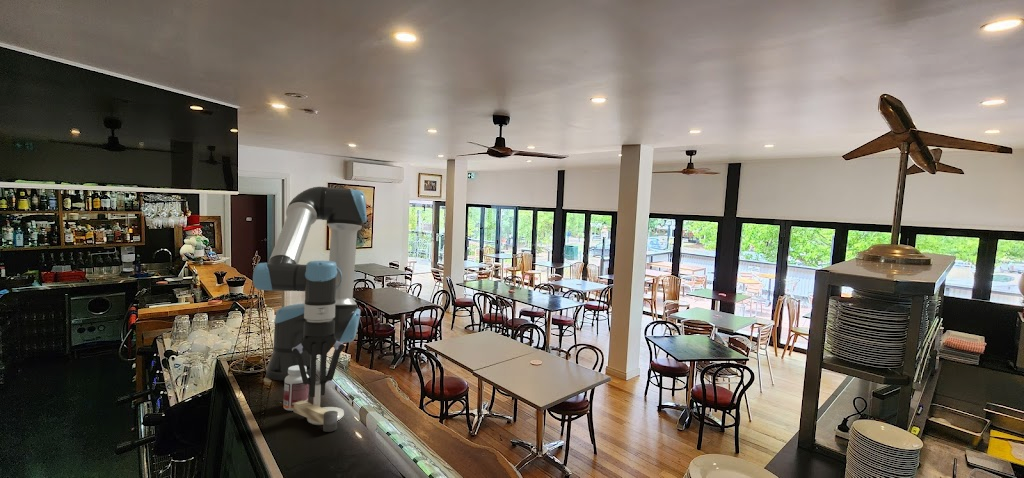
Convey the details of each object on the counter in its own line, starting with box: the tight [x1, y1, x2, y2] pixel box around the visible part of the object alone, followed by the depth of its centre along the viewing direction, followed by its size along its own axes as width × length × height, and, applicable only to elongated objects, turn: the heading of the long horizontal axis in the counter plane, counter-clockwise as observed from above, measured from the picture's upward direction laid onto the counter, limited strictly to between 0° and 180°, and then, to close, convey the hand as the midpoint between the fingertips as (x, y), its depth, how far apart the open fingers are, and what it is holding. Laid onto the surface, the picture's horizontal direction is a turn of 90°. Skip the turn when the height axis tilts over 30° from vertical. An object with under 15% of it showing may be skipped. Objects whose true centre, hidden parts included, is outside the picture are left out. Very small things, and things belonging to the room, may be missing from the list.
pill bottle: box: [282, 365, 310, 412], centre depth 120 cm, size 6×6×11 cm
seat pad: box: [306, 406, 345, 426], centre depth 115 cm, size 9×9×1 cm
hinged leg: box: [293, 400, 338, 433], centre depth 110 cm, size 15×3×4 cm, turn 61°
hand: (316, 407), depth 114 cm, fingers closed
